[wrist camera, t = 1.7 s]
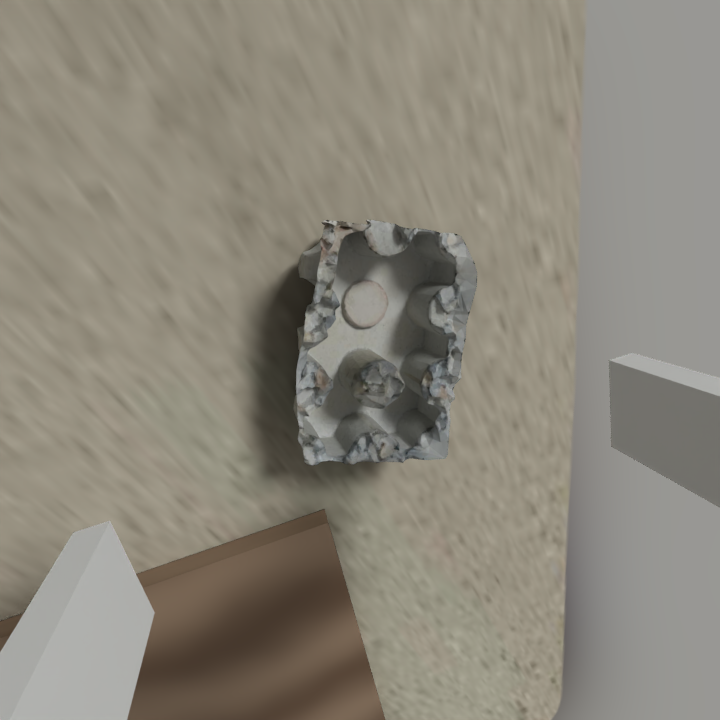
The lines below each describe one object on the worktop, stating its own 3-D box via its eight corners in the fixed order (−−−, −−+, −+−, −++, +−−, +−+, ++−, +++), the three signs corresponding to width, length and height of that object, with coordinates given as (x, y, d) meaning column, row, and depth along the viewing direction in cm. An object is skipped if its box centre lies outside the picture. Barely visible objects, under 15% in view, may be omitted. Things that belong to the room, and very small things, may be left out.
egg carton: (297, 213, 18) (320, 204, 15) (447, 237, 21) (498, 235, 17) (278, 440, 21) (294, 482, 17) (415, 437, 23) (455, 472, 20)
